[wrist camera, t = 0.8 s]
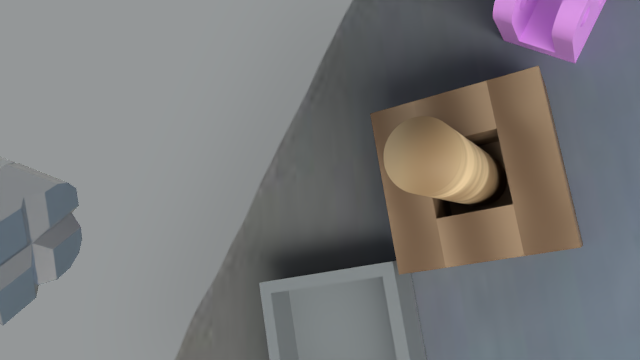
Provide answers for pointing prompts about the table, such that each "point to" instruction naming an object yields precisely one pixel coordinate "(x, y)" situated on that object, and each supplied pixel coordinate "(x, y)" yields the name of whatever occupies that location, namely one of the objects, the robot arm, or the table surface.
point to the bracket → (548, 24)
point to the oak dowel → (442, 163)
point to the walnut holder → (521, 170)
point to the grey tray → (343, 315)
